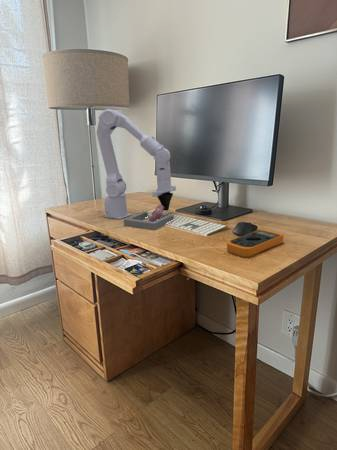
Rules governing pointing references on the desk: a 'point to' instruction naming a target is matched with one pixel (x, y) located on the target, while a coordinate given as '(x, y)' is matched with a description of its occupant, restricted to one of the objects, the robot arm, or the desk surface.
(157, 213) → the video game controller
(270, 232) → the multimeter
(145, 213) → the tray
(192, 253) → the desk surface
